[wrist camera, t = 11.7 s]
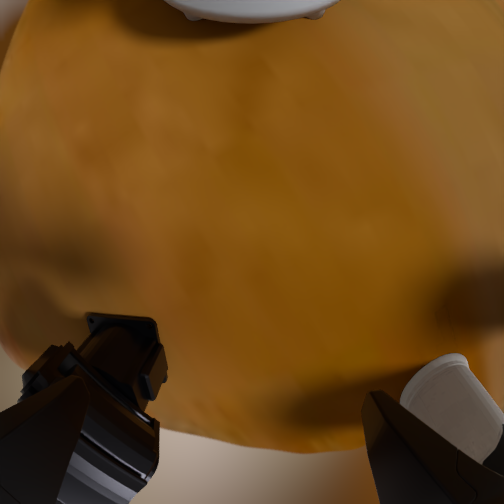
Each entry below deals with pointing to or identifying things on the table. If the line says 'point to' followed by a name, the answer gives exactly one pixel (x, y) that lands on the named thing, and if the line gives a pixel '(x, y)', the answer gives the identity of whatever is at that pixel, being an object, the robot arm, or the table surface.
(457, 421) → the glass holder
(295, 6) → the round white stand
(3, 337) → the table surface
